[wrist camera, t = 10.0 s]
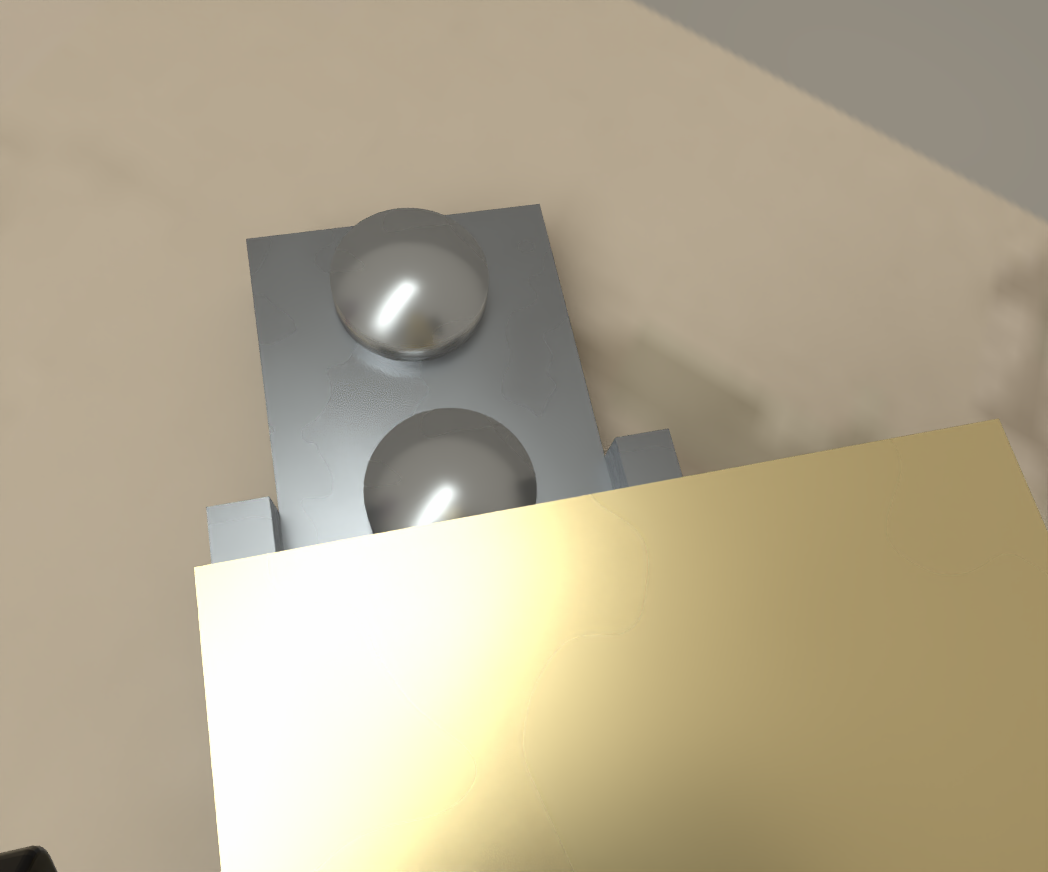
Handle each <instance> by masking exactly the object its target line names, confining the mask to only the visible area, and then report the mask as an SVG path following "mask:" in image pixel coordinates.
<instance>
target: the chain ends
mask: <svg viewBox="0 0 1048 872" xmlns="http://www.w3.org/2000/svg"><path fill="white" fill-rule="evenodd" d="M246 242H247V251H248V259H249V267H250V275H251V284H252V292H253V300H254V308H255V317H256V325H257V333H258V341H259V350H260V358H261V366H262V375H263V383H264V391H265V399H266V408H267V416H268V424H269V432H270V441H271V449H272V457H273V465H274V474H275V482H276V490H277V499H278V507H279V512H278V510H277V508H276V507H275V505H274V504H273V502H272V500H271V499H270V497H263V498H258V499H252V500H246V501H240V502H234V503H228V504H222V505H216V506H210V507H206V509H207V520H208V531H209V542H210V553H211V564H216V563H221V562H227V561H232V560H237V559H243V558H248V557H254V556H259V555H265V554H270V553H275V552H281V551H286V550H292V549H297V548H302V547H308V546H313V545H319V544H324V543H329V542H335V541H340V540H346V539H351V538H356V537H362V536H367V535H373V534H378V533H383V532H389V531H394V530H400V529H405V528H410V527H416V526H421V525H427V524H432V523H437V522H443V521H448V520H454V519H459V518H464V517H470V516H475V515H481V514H486V513H491V512H497V511H502V510H508V509H513V508H518V507H524V506H529V505H535V504H540V503H545V502H551V501H556V500H562V499H567V498H572V497H578V496H583V495H589V494H594V493H599V492H605V491H610V490H616V489H621V488H626V487H632V486H637V485H643V484H648V483H653V482H659V481H664V480H670V479H675V478H680V477H682V473H681V470H680V466H679V463H678V459H677V456H676V452H675V449H674V445H673V442H672V438H671V435H670V431H669V429H664V430H658V431H652V432H646V433H640V434H634V435H628V436H622V437H616V438H615V439H614V441H613V443H612V444H611V446H610V448H609V450H608V451H607V453H606V455H605V456H604V452H603V448H602V444H601V440H600V436H599V432H598V429H597V425H596V421H595V417H594V413H593V409H592V405H591V402H590V398H589V394H588V390H587V386H586V382H585V378H584V374H583V371H582V367H581V363H580V359H579V355H578V351H577V347H576V344H575V340H574V336H573V332H572V328H571V324H570V320H569V316H568V313H567V309H566V305H565V301H564V297H563V293H562V289H561V285H560V282H559V278H558V274H557V270H556V266H555V262H554V258H553V255H552V251H551V247H550V243H549V239H548V235H547V231H546V227H545V224H544V220H543V216H542V212H541V208H540V204H535V205H527V206H518V207H510V208H502V209H493V210H485V211H476V212H468V213H460V214H451V215H442V214H439V213H437V212H433V211H429V210H425V209H418V208H397V209H392V210H386V211H383V212H380V213H377V214H374V215H372V216H370V217H368V218H366V219H364V220H362V221H361V222H359V223H358V224H357V225H355V226H351V227H342V228H334V229H326V230H317V231H309V232H300V233H292V234H284V235H275V236H267V237H258V238H250V239H246Z"/></svg>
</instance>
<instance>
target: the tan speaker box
mask: <svg viewBox="0 0 1048 872" xmlns="http://www.w3.org/2000/svg"><path fill="white" fill-rule="evenodd" d="M194 570H195V581H196V592H197V603H198V615H199V626H200V637H201V648H202V660H203V671H204V682H205V693H206V704H207V716H208V727H209V738H210V749H211V760H212V772H213V783H214V794H215V805H216V817H217V828H218V839H219V850H220V861H221V872H1048V531H1047V529H1046V527H1045V524H1044V522H1043V520H1042V517H1041V515H1040V513H1039V511H1038V508H1037V506H1036V504H1035V501H1034V499H1033V497H1032V494H1031V492H1030V490H1029V487H1028V485H1027V483H1026V480H1025V478H1024V476H1023V474H1022V471H1021V469H1020V467H1019V464H1018V462H1017V460H1016V457H1015V455H1014V453H1013V450H1012V448H1011V446H1010V443H1009V441H1008V439H1007V437H1006V434H1005V432H1004V430H1003V427H1002V425H1001V423H1000V420H999V419H994V420H988V421H983V422H977V423H972V424H967V425H961V426H956V427H950V428H945V429H940V430H934V431H929V432H923V433H918V434H913V435H907V436H902V437H896V438H891V439H886V440H880V441H875V442H869V443H864V444H859V445H853V446H848V447H842V448H837V449H832V450H826V451H821V452H815V453H810V454H805V455H799V456H794V457H788V458H783V459H778V460H772V461H767V462H761V463H756V464H751V465H745V466H740V467H734V468H729V469H724V470H718V471H713V472H707V473H702V474H697V475H691V476H686V477H680V478H675V479H670V480H664V481H659V482H653V483H648V484H643V485H637V486H632V487H626V488H621V489H616V490H610V491H605V492H599V493H594V494H589V495H583V496H578V497H572V498H567V499H562V500H556V501H551V502H545V503H540V504H535V505H529V506H524V507H518V508H513V509H508V510H502V511H497V512H491V513H486V514H481V515H475V516H470V517H464V518H459V519H454V520H448V521H443V522H437V523H432V524H427V525H421V526H416V527H410V528H405V529H400V530H394V531H389V532H383V533H378V534H373V535H367V536H362V537H356V538H351V539H346V540H340V541H335V542H329V543H324V544H319V545H313V546H308V547H302V548H297V549H292V550H286V551H281V552H275V553H270V554H265V555H259V556H254V557H248V558H243V559H237V560H232V561H227V562H221V563H216V564H211V565H205V566H200V567H194Z"/></svg>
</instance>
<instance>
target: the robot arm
mask: <svg viewBox="0 0 1048 872" xmlns="http://www.w3.org/2000/svg"><path fill="white" fill-rule="evenodd" d="M0 872H57V870H56V868H55V866H54V864H53V861H52V859H51V857H50V855H49V854H48V852H47V851H46V850H45V849H44V848H43V847H41V846H29V847H25V848H21V849H16V850H12V851H7V852H3V853H0Z"/></svg>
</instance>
